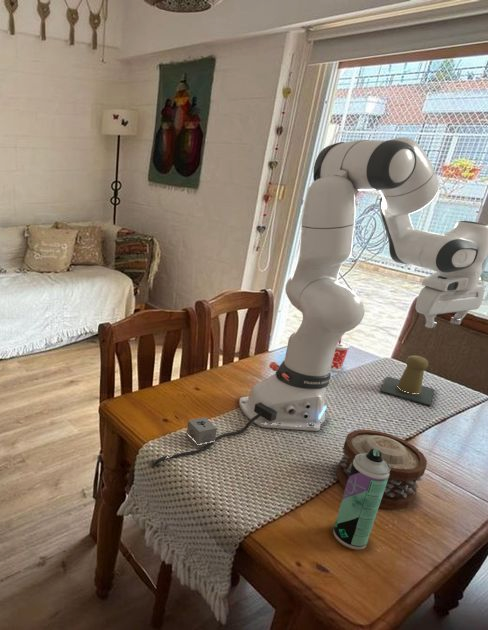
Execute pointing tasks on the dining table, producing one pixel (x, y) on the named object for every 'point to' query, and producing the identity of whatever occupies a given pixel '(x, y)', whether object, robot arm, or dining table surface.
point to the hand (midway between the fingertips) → (442, 325)
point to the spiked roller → (400, 458)
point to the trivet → (422, 398)
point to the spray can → (361, 499)
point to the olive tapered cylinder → (413, 375)
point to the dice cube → (201, 431)
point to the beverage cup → (339, 356)
